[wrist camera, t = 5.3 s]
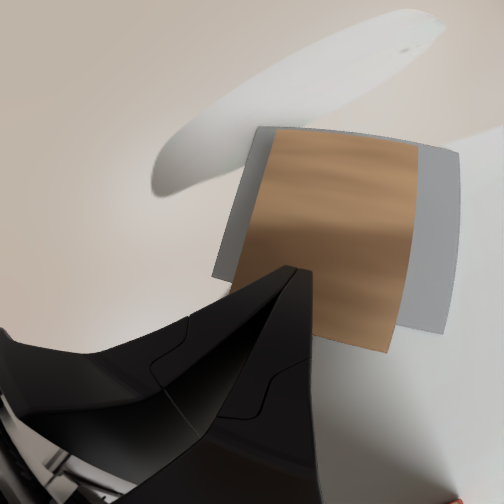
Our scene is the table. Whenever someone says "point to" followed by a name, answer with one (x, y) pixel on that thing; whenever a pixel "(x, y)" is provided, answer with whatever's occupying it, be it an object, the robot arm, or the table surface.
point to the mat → (424, 234)
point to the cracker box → (457, 502)
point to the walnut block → (337, 228)
